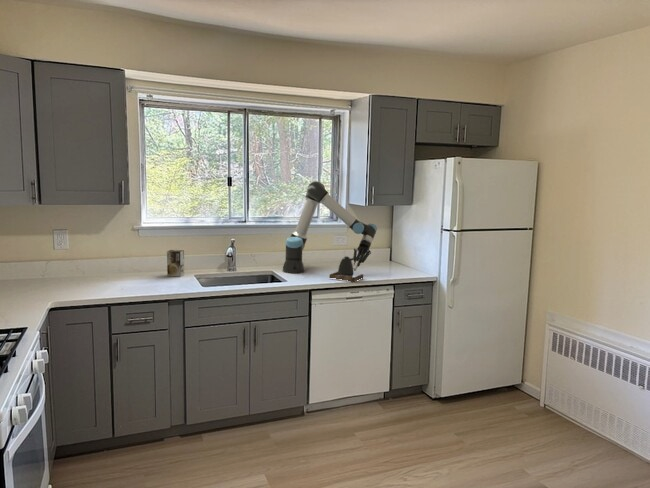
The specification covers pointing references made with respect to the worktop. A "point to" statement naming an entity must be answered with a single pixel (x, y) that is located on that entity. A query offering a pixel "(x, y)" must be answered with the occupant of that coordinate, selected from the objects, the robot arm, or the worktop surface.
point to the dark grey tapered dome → (346, 267)
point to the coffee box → (175, 263)
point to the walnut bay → (345, 277)
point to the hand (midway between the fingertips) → (354, 269)
